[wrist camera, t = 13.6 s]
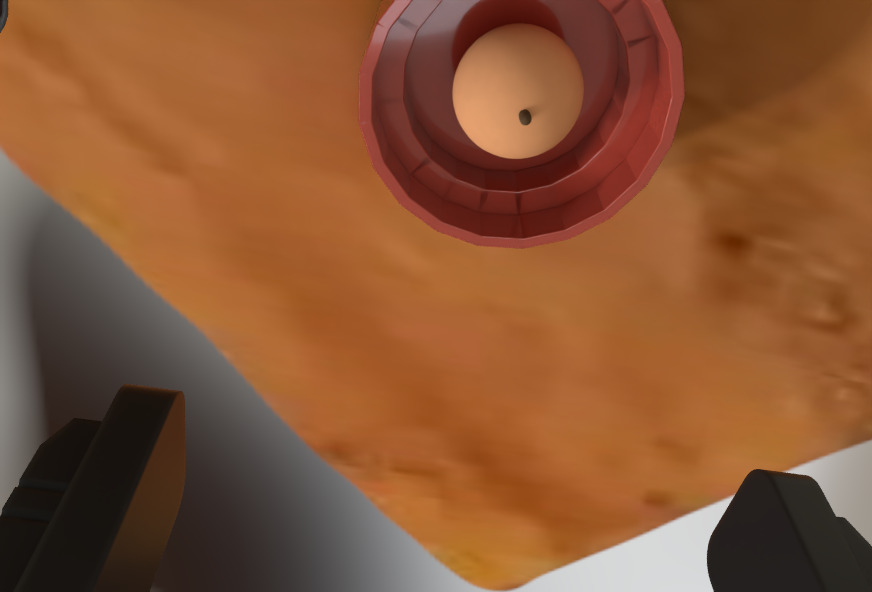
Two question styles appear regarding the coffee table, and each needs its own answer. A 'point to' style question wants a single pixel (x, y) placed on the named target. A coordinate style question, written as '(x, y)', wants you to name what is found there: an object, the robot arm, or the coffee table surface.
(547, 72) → the peach
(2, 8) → the sundae
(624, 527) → the coffee table surface
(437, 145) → the bowl
